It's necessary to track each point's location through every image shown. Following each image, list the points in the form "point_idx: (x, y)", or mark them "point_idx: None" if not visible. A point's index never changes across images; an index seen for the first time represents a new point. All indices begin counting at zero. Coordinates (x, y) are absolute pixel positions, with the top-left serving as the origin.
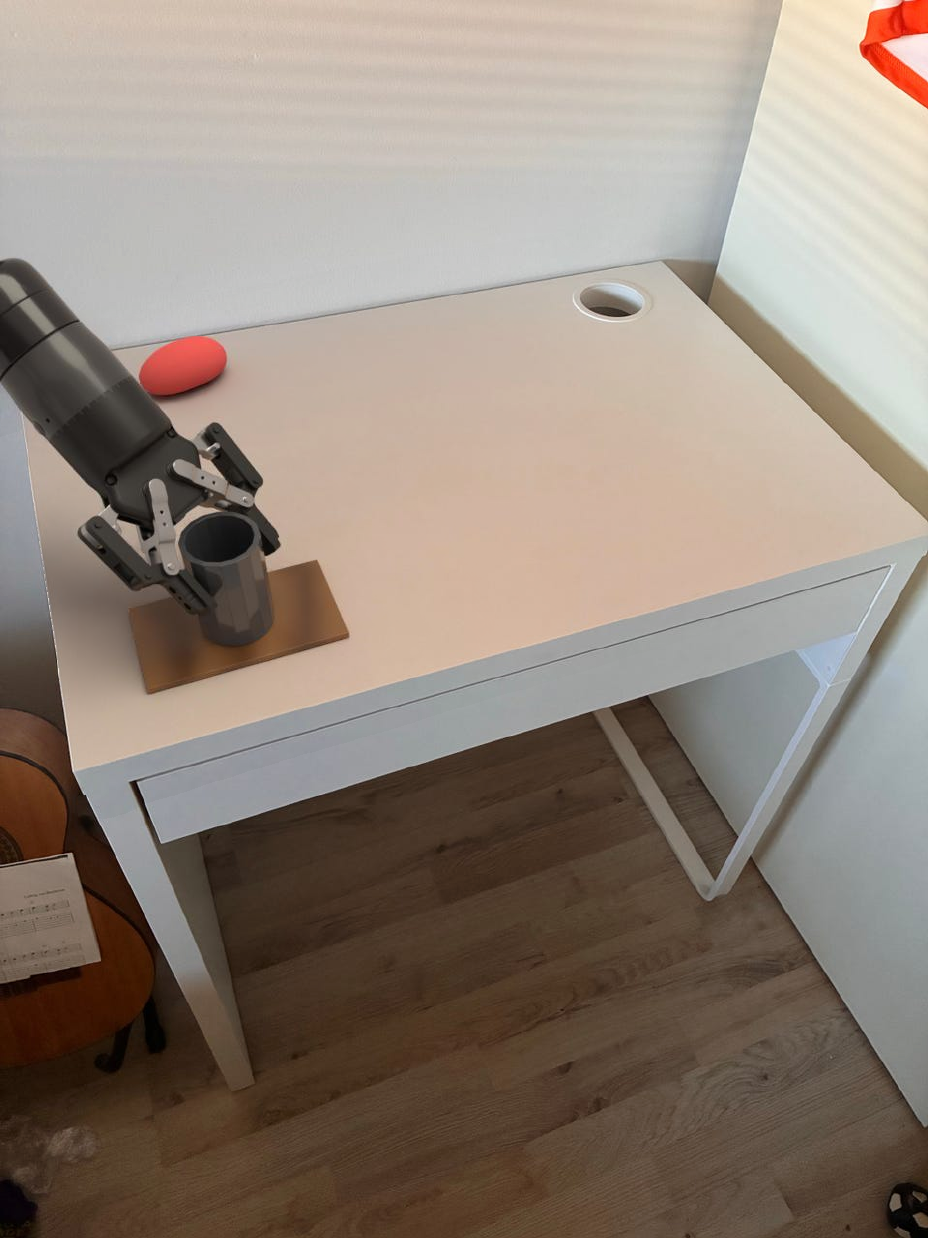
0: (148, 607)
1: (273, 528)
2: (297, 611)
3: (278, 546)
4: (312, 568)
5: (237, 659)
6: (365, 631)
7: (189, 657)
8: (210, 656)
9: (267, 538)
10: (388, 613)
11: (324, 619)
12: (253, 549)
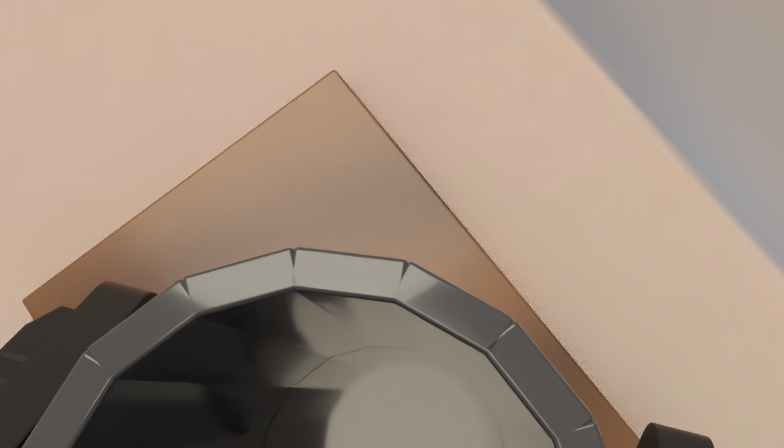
0: None
1: (17, 342)
2: None
3: (129, 286)
4: (70, 298)
5: (568, 384)
6: (299, 43)
7: None
8: None
9: None
10: (207, 4)
11: (301, 163)
12: (351, 255)
